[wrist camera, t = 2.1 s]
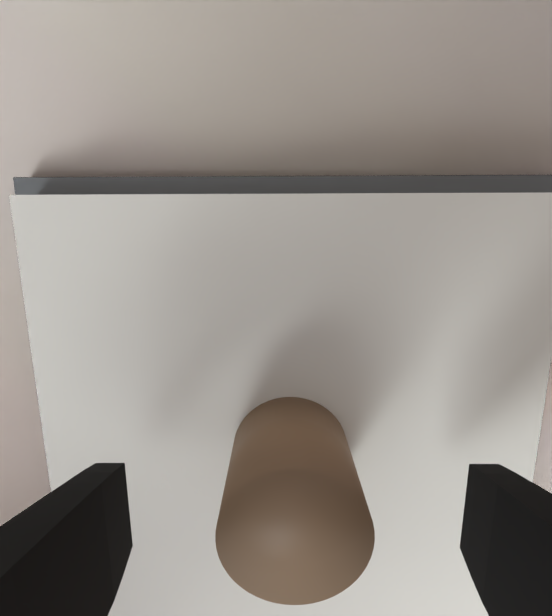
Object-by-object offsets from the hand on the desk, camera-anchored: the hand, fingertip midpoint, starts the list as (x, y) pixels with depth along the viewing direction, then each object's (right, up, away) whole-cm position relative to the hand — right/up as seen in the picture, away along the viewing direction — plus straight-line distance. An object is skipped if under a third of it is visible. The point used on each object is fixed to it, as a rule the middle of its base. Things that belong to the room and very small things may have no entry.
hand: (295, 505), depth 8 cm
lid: (0, +1, +3) cm, 3 cm away
